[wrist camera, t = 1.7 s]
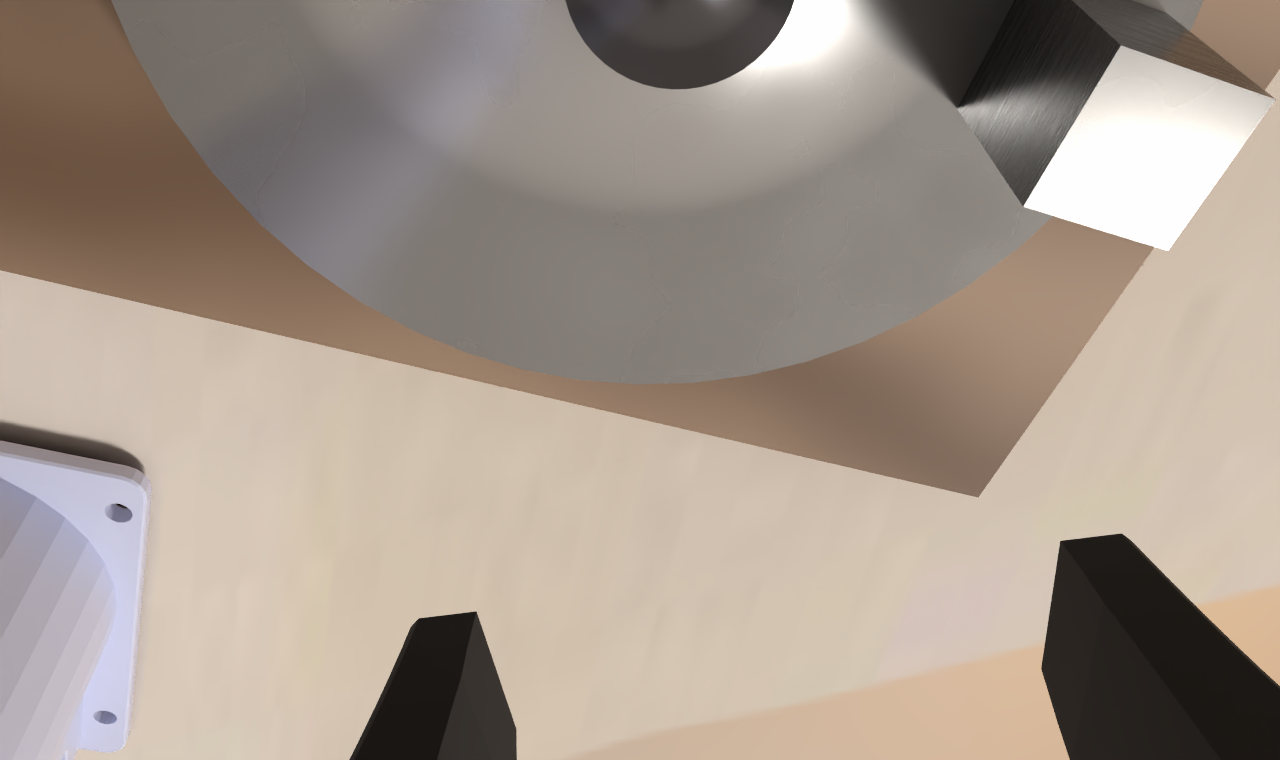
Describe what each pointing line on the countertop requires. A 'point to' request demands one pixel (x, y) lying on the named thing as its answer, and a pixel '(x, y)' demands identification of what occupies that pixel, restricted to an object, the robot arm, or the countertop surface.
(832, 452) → the base plate
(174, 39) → the silver round platter
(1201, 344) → the countertop surface
